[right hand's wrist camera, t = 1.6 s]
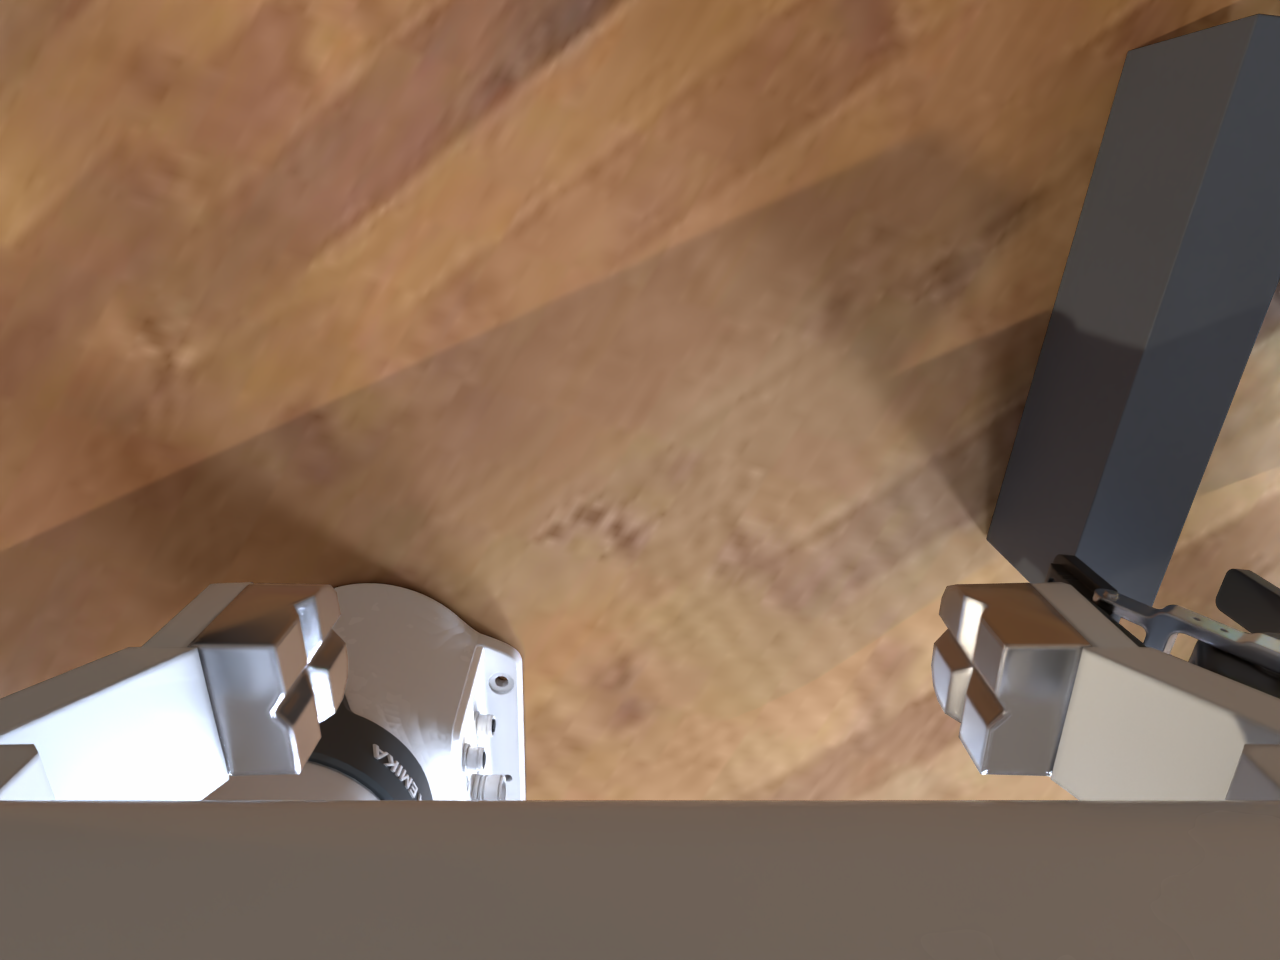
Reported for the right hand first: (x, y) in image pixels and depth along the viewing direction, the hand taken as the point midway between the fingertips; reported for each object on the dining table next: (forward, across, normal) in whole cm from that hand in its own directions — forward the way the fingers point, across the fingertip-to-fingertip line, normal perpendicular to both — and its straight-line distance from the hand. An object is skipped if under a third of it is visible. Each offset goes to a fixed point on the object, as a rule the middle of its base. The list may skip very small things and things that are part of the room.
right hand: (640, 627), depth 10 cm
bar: (+34, +25, -2) cm, 43 cm away
